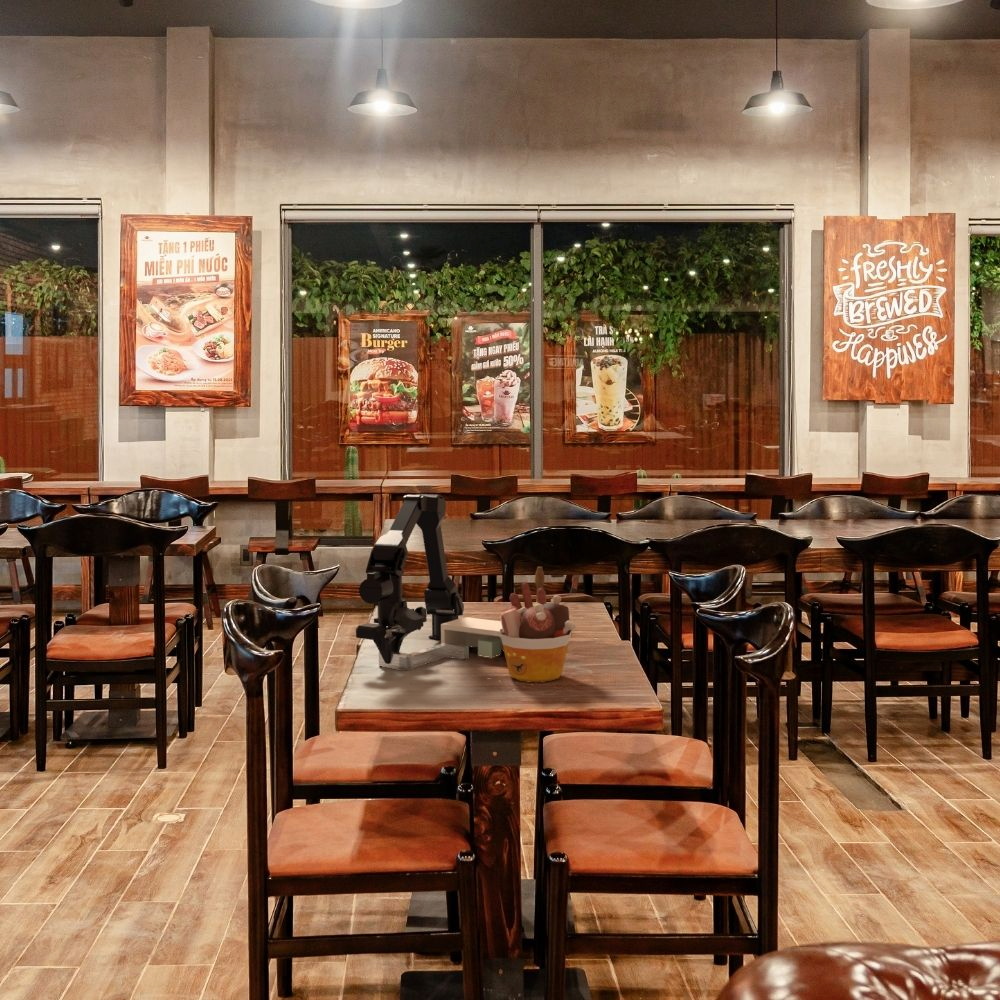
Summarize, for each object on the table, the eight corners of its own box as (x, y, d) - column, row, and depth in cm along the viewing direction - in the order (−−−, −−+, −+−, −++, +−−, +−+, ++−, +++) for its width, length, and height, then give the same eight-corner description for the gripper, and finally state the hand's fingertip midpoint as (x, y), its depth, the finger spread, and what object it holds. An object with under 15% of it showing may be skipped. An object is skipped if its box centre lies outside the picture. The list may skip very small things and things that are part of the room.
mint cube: (478, 656, 278) (477, 640, 277) (486, 653, 281) (486, 637, 281) (492, 658, 275) (491, 642, 275) (500, 655, 279) (500, 639, 278)
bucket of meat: (582, 685, 249) (582, 594, 247) (507, 689, 246) (506, 597, 244) (560, 664, 268) (560, 580, 267) (490, 668, 265) (490, 582, 264)
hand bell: (557, 622, 319) (557, 565, 317) (549, 627, 311) (549, 569, 310) (529, 620, 322) (529, 563, 320) (520, 626, 314) (519, 568, 312)
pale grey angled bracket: (378, 666, 267) (378, 651, 267) (425, 651, 282) (424, 637, 282) (423, 673, 260) (423, 658, 260) (468, 658, 275) (468, 643, 275)
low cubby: (441, 653, 281) (440, 624, 280) (465, 645, 290) (464, 617, 289) (511, 662, 270) (510, 632, 270) (533, 654, 279) (533, 625, 279)
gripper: (393, 605, 253) (394, 675, 255) (441, 593, 269) (442, 658, 270) (353, 601, 259) (354, 669, 260) (403, 589, 275) (404, 653, 276)
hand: (390, 662), depth 267 cm, fingers closed on pale grey angled bracket, 2 cm apart
